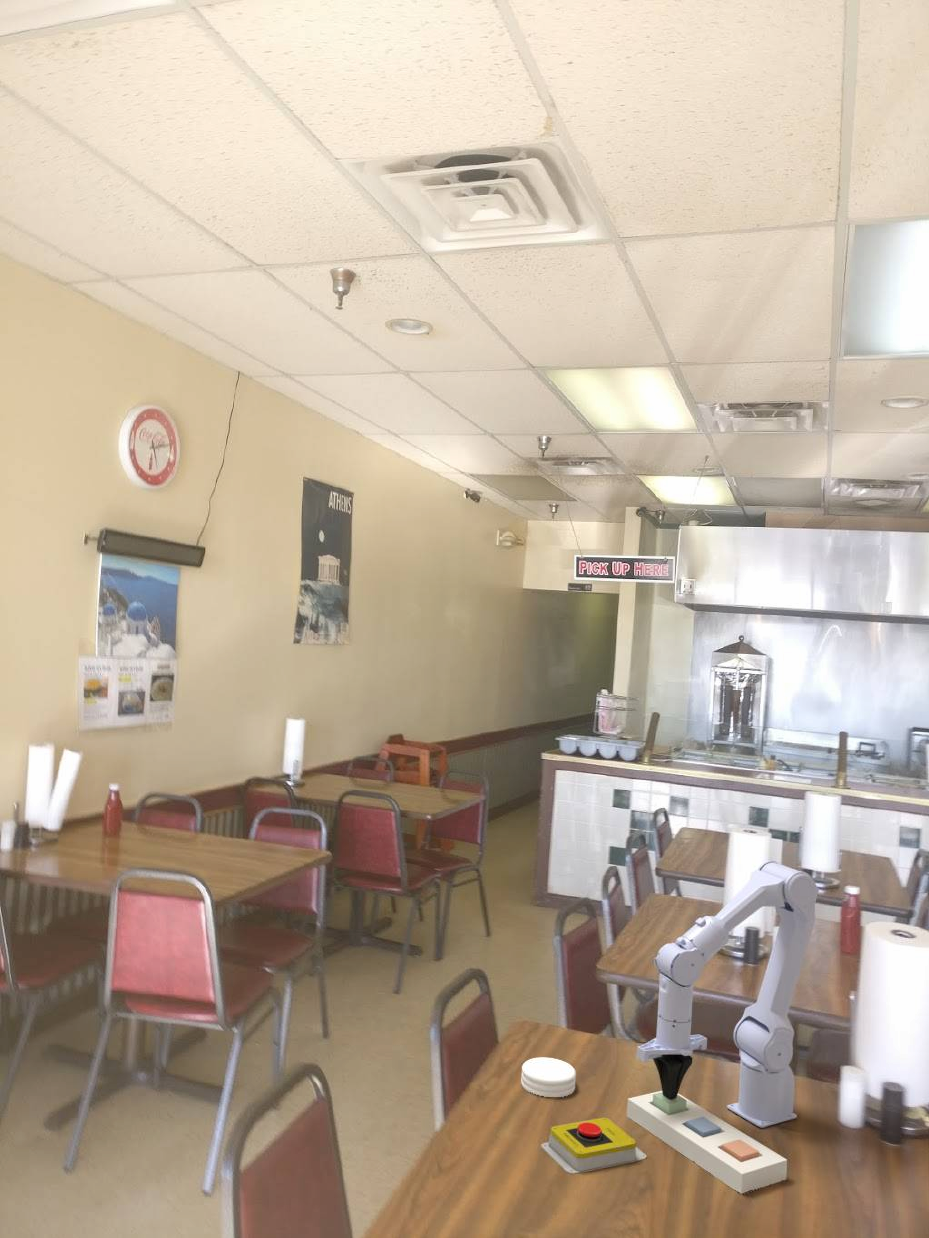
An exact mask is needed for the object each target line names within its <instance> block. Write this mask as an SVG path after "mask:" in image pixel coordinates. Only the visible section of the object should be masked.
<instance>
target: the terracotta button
mask: <svg viewBox="0 0 929 1238" xmlns="http://www.w3.org/2000/svg"><path fill="white" fill-rule="evenodd" d="M722 1150H723V1151H724V1152H726V1153H728V1154H729V1155H731V1156H732V1157H734V1158H735V1159H737V1160H738V1161H740V1162H744V1161H747V1160H750V1159H754V1158H757V1157H759V1151H758V1150H756V1149H754V1148H753V1147H751V1146H750V1145H748V1144H746V1143H745V1142H743V1141H742V1140H740V1139H739V1140H735V1141H732V1142H728V1143H725V1144H722Z"/></svg>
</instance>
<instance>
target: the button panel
mask: <svg viewBox="0 0 929 1238" xmlns="http://www.w3.org/2000/svg"><path fill="white" fill-rule="evenodd" d="M661 1092H662V1090H659V1091H655V1092H654V1091H653V1092H651V1093H646V1094H643V1095H641V1094H640V1095H638V1096H633V1097H628V1098H627V1106H626V1117H627V1118H629V1119H630V1120H631V1121H633V1122H634V1123H636V1124H638V1125H639V1126H640V1127H642V1128H643V1129H644V1130H646V1131H647V1132H649V1133H651V1134H652V1135H653V1136H655V1137H656V1138H658V1139H660V1140H661V1141H662V1142H664V1143H665V1144H667V1145H668V1146H670V1147H671V1148H672V1149H674V1150H675V1151H677V1152H678V1153H680V1155H683V1156H684V1157H685V1158H687V1159H689V1160H690V1161H691V1162H693V1161H694V1162H695V1163H694V1162H693V1163H694V1164H696V1165H697V1166H699V1167H700V1168H702V1169H703V1170H705V1171H706V1172H707V1173H709V1174H710V1173H711V1174H710V1175H712V1176H713V1177H715V1178H716V1179H717V1180H719V1181H721V1182H722V1183H724V1184H725V1185H726V1186H728V1187H730V1188H731V1189H733V1191H735V1190H736V1191H735V1192H737V1191H738V1192H740V1193H741V1194H740V1193H739V1194H740V1195H743V1194H742V1193H744V1192H747V1191H749V1190H753V1191H755V1190H754V1189H756V1190H758V1188H759V1189H762V1188H765V1187H767V1186H770V1184H771V1185H774V1184H777V1183H780V1182H783V1181H785V1180H787V1172H788V1171H787V1170H788V1159H786V1158H785V1157H783V1156H782V1155H780V1154H779V1153H778V1152H775V1151H773V1150H772V1149H770V1148H769V1147H767V1146H765V1145H764V1144H762V1143H760V1142H759V1141H757V1140H755V1139H754V1138H753V1137H751V1136H749V1135H747V1134H745V1133H744V1132H742V1131H741V1130H739V1129H737V1128H736V1127H734V1126H732V1125H731V1124H729V1123H727V1122H725V1120H722V1119H721V1118H720V1117H718V1116H716V1115H715V1114H713V1113H711V1112H709V1111H708V1110H707V1109H705V1108H703V1107H701V1106H699V1105H698V1104H696V1103H695V1102H693V1101H691V1100H690V1099H689V1098H686V1096H683V1095H681V1094H680V1093H678V1094H677V1095H679V1096H680V1097H682V1098H684V1099H685V1100H686V1111H684V1112H680V1113H676V1114H672V1115H667V1114H666V1113H664V1112H662V1111H661V1110H659V1109H658V1108H656V1107H655V1106H653V1105H652V1103H653V1094H656V1093H661ZM700 1117H704V1118H706V1119H708V1120H709V1121H711V1122H712V1123H714V1124H716V1125H717V1126H719V1127H721V1133H719V1134H715V1135H712V1136H708V1137H704V1138H703V1137H701V1136H700V1135H698V1134H697V1133H695V1132H693V1131H692V1130H690V1129H689V1128H687V1127H686V1126H685V1125H686V1121H689V1120H693V1119H697V1118H700ZM739 1139H740V1140H742V1141H743V1142H745V1143H746V1144H748V1145H750V1146H751V1147H753V1148H754V1149H756V1150H758V1151H759V1157H757V1158H754V1159H750V1160H747V1161H744V1162H740V1161H738V1160H737V1159H735V1158H734V1157H732V1156H731V1155H729V1154H728V1153H726V1152H724V1151H723V1150H722V1144H725V1143H728V1142H732V1141H735V1140H739ZM782 1180H783V1181H782ZM760 1187H761V1188H760ZM738 1192H737V1193H738ZM747 1193H748V1192H747ZM744 1194H745V1193H744Z"/></svg>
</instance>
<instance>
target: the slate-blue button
mask: <svg viewBox="0 0 929 1238" xmlns="http://www.w3.org/2000/svg"><path fill="white" fill-rule="evenodd" d="M685 1126H686V1127H687V1128H689V1129H690V1130H692V1131H693V1132H695V1133H697V1134H698V1135H700V1136H701V1137H703V1138H704V1137H708V1136H712V1135H715V1134H719V1133H721V1127H719V1126H717V1125H716V1124H714V1123H712V1122H711V1121H709V1120H708V1119H706V1118H704V1117H700V1118H697V1119H693V1120H689V1121H686V1125H685Z"/></svg>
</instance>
